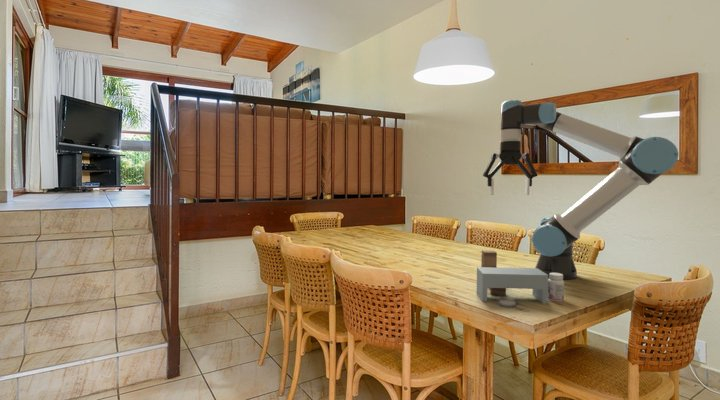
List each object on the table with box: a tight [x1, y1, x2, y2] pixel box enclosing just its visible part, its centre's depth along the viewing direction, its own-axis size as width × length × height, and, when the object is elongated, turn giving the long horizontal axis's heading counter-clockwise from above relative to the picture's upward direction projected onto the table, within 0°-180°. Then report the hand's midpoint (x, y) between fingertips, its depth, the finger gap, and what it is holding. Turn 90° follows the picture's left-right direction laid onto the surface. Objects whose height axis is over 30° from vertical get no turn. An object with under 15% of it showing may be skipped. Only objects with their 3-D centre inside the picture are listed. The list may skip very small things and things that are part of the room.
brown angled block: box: [480, 249, 507, 296], centre depth 138 cm, size 17×5×12 cm, turn 174°
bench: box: [476, 266, 549, 304], centre depth 126 cm, size 20×9×9 cm, turn 84°
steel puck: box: [498, 296, 517, 309], centre depth 120 cm, size 5×5×2 cm
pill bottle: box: [547, 273, 565, 302], centre depth 125 cm, size 5×5×8 cm
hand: (509, 194), depth 153 cm, fingers open, 13 cm apart
